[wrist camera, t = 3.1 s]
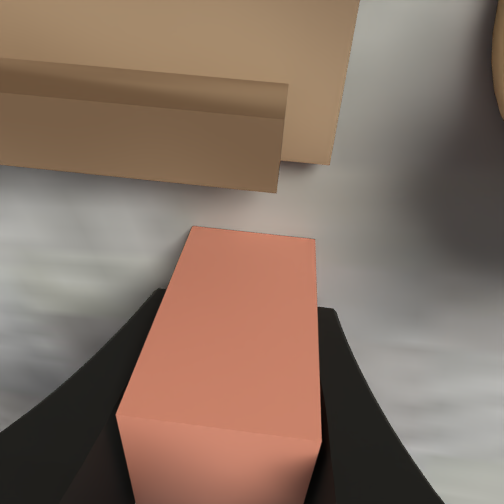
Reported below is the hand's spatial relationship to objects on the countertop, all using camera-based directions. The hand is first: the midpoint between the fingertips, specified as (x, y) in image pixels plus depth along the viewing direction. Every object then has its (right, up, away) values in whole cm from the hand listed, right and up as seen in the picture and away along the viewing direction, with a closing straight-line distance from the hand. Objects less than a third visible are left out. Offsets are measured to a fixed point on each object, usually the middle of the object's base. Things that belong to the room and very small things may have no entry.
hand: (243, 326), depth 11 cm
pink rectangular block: (0, +1, +1) cm, 1 cm away
